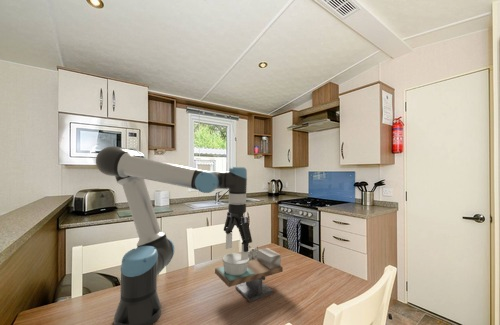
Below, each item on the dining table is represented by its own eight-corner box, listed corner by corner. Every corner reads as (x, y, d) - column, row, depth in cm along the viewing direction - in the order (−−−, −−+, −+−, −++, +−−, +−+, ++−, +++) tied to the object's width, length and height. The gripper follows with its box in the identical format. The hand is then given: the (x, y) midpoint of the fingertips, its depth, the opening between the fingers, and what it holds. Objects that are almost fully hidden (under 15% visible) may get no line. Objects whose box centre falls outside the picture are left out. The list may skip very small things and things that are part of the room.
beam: (229, 290, 80) (230, 269, 81) (213, 273, 93) (214, 255, 93) (283, 274, 95) (284, 256, 95) (263, 261, 108) (264, 246, 108)
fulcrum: (249, 302, 87) (250, 283, 87) (235, 288, 97) (235, 271, 97) (272, 293, 93) (273, 276, 94) (257, 280, 103) (257, 265, 104)
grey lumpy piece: (255, 265, 127) (264, 250, 130) (254, 266, 120) (264, 250, 122) (243, 256, 130) (252, 242, 133) (241, 256, 122) (251, 241, 125)
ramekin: (245, 278, 84) (245, 265, 84) (218, 275, 86) (218, 261, 86) (250, 266, 95) (251, 254, 95) (226, 263, 97) (227, 251, 97)
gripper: (261, 207, 83) (260, 262, 82) (231, 198, 104) (230, 242, 103) (245, 208, 79) (243, 267, 78) (217, 199, 100) (216, 245, 99)
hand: (236, 253), depth 91 cm, fingers open, 13 cm apart
